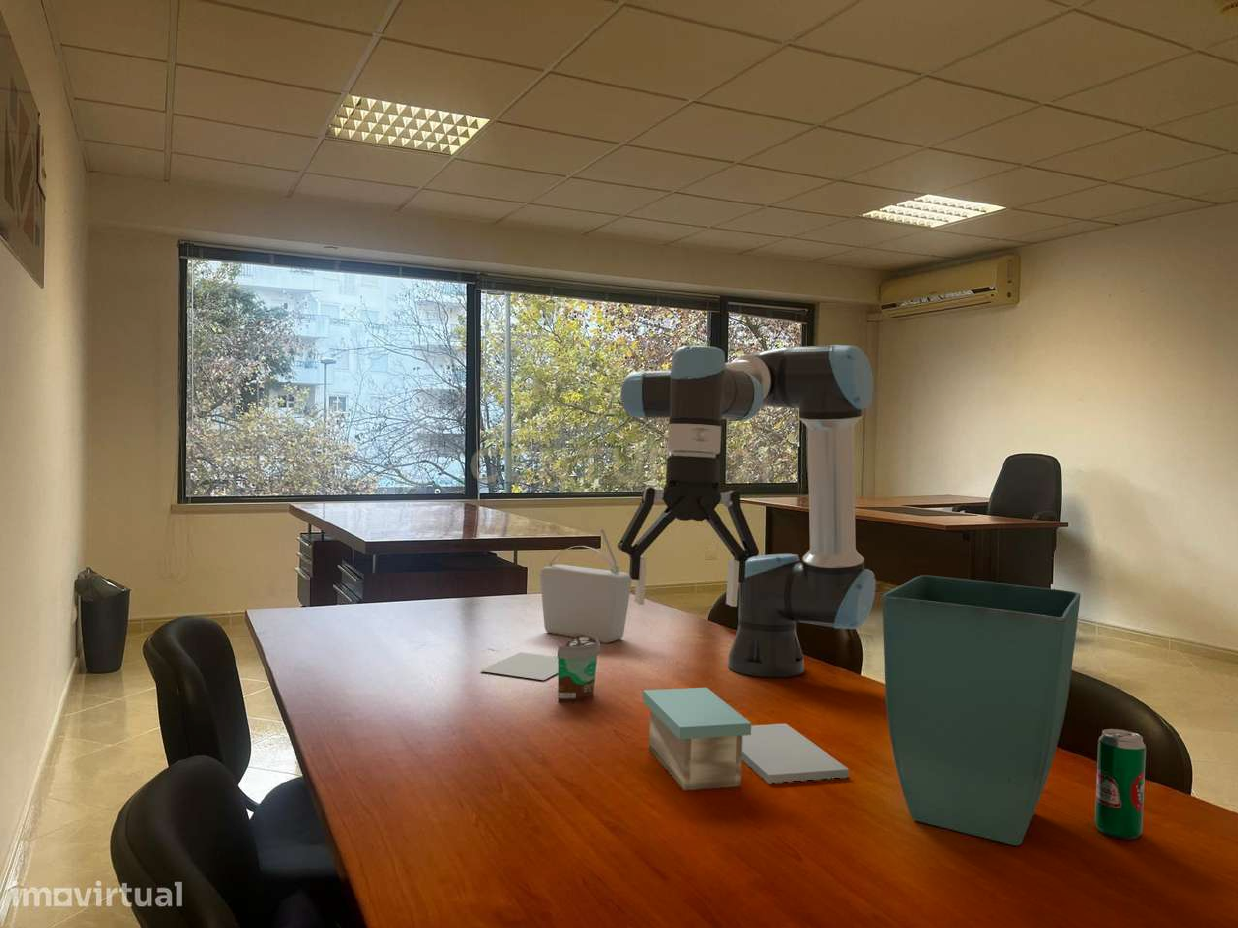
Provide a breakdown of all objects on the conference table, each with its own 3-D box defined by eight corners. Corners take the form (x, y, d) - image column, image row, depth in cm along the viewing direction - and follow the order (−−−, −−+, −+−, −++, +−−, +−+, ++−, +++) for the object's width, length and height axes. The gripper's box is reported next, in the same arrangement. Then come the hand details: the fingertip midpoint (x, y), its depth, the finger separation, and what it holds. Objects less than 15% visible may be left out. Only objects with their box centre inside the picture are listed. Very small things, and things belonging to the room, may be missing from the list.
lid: (706, 698, 136) (706, 687, 136) (750, 734, 120) (751, 722, 120) (642, 701, 133) (643, 690, 133) (679, 739, 117) (679, 727, 117)
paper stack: (437, 667, 177) (437, 664, 177) (500, 642, 200) (500, 639, 200) (543, 683, 168) (544, 679, 168) (597, 655, 191) (597, 651, 191)
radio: (634, 639, 205) (637, 530, 205) (615, 645, 198) (618, 533, 198) (557, 626, 217) (560, 523, 216) (536, 631, 210) (539, 525, 209)
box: (699, 745, 135) (701, 699, 135) (740, 785, 120) (742, 734, 120) (648, 748, 133) (650, 701, 133) (683, 790, 118) (685, 737, 118)
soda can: (1085, 823, 111) (1089, 727, 111) (1124, 822, 112) (1128, 727, 111) (1111, 841, 106) (1115, 741, 106) (1151, 841, 107) (1156, 741, 106)
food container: (591, 707, 153) (592, 649, 153) (556, 704, 154) (557, 646, 154) (606, 688, 165) (608, 634, 165) (574, 685, 166) (575, 631, 166)
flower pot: (1052, 872, 98) (1064, 615, 97) (870, 825, 109) (879, 593, 108) (1071, 810, 115) (1081, 591, 114) (912, 775, 126) (920, 574, 125)
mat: (785, 730, 143) (786, 723, 143) (848, 777, 124) (848, 769, 124) (715, 735, 140) (715, 727, 140) (768, 783, 121) (768, 774, 121)
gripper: (612, 450, 122) (604, 606, 122) (785, 460, 127) (778, 610, 127) (602, 451, 129) (595, 598, 129) (767, 460, 134) (759, 601, 134)
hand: (685, 604), depth 128 cm, fingers open, 13 cm apart
